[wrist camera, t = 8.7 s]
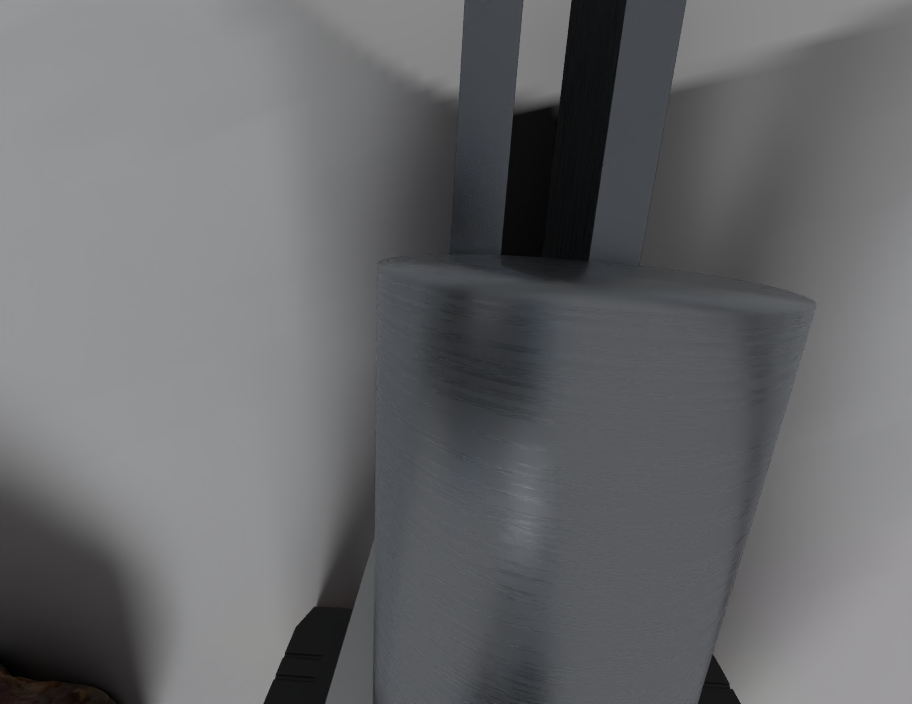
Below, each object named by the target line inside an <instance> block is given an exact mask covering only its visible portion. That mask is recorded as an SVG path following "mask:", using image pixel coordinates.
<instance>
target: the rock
mask: <svg viewBox="0 0 912 704" xmlns="http://www.w3.org/2000/svg"><path fill="white" fill-rule="evenodd" d="M0 704H116V703H115V702H114V701H113V700H111V699H110V698H109V697H108V695H107V694H106V693H105V692H103V691H101V690H99V689H96V688H94V687H91V686H87V685H83V684H75V683H64V682H59V681H46V682H43V681H35V680H32V679H28V678H24V677H12V676H10V674H9V672H8V671H7V670H6V669H5V668H4V667H3V666H2V665H1V664H0Z"/></svg>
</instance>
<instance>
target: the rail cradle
mask: <svg viewBox="0 0 912 704" xmlns="http://www.w3.org/2000/svg"><path fill="white" fill-rule="evenodd" d="M685 5H686V0H572V2H571V11H570V20H569V28H568V38H567V46H566V55H565V63H564V71H563V80H562V89H561V97H560V106H559V115H558V123H557V132H556V141H555V149H554V158H553V167H552V175H551V184H550V193H549V201H548V210H547V219H546V227H545V236H544V245H543V253H542V257H543V258H558V259H571V260H583V261H594V262H605V263H615V264H625V265H634V266H639V264H640V258H641V253H642V247H643V242H644V236H645V230H646V225H647V219H648V213H649V208H650V202H651V197H652V191H653V185H654V180H655V174H656V169H657V163H658V157H659V152H660V146H661V140H662V135H663V129H664V124H665V118H666V112H667V107H668V101H669V95H670V90H671V84H672V79H673V73H674V67H675V62H676V56H677V51H678V45H679V39H680V34H681V28H682V22H683V17H684V11H685ZM522 9H523V0H465V4H464V21H463V39H462V57H461V74H460V91H459V109H458V126H457V144H456V161H455V179H454V196H453V213H452V231H451V248H450V254H479V255H501V245H502V234H503V223H504V211H505V200H506V189H507V178H508V167H509V155H510V144H511V133H512V122H513V110H514V99H515V88H516V77H517V66H518V54H519V42H520V32H521V21H522Z"/></svg>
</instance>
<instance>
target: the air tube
mask: <svg viewBox="0 0 912 704" xmlns="http://www.w3.org/2000/svg"><path fill="white" fill-rule="evenodd" d="M815 309H816V303H815V302H814V301H813V300H811V299H809V298H807V297H805V296H802V295H799V294H796V293H793V292H789V291H786V290H782V289H778V288H774V287H770V286H765V285H760V284H756V283H751V282H745V281H740V280H735V279H729V278H723V277H717V276H710V275H704V274H697V273H690V272H683V271H676V270H668V269H660V268H652V267H643V266H634V265H625V264H615V263H605V262H594V261H583V260H571V259H558V258H543V257H527V256H508V255H479V254H428V255H410V256H400V257H393V258H388V259H385V260H382V261H380V262H379V263H378V285H377V372H376V460H375V547H374V635H373V704H698V701H699V698H700V694H701V691H702V687H703V684H704V681H705V677H706V674H707V671H708V667H709V664H710V661H711V657H712V654H713V651H714V647H715V644H716V641H717V637H718V634H719V630H720V627H721V624H722V620H723V617H724V614H725V610H726V607H727V604H728V600H729V597H730V594H731V590H732V587H733V584H734V580H735V577H736V574H737V570H738V567H739V563H740V560H741V557H742V553H743V550H744V547H745V543H746V540H747V537H748V533H749V530H750V527H751V523H752V520H753V517H754V513H755V510H756V507H757V503H758V500H759V496H760V493H761V490H762V486H763V483H764V480H765V476H766V473H767V470H768V466H769V463H770V460H771V456H772V453H773V450H774V446H775V443H776V440H777V436H778V433H779V429H780V426H781V423H782V419H783V416H784V413H785V409H786V406H787V403H788V399H789V396H790V393H791V389H792V386H793V383H794V379H795V376H796V372H797V369H798V366H799V362H800V359H801V356H802V352H803V349H804V346H805V342H806V339H807V336H808V332H809V329H810V326H811V322H812V319H813V316H814V312H815Z"/></svg>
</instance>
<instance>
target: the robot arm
mask: <svg viewBox="0 0 912 704" xmlns="http://www.w3.org/2000/svg"><path fill="white" fill-rule="evenodd" d="M374 547H375V537H374V541H373V544H372V548H371V551H370V554H369V558H368V561H367V564H366V568H365V571H364V575H363V578H362V581H361V585H360V588H359V591H358V595H357V598H356V601H355V605H354V608H353V609H341V608H327V607H314V608H313V609H312V610H311V611H310V612H309V613H308V614H307V615H306V617H305V618H304V619H303V620H302V621H301V622H300V623H299V624H298V625H297V626H296V628H295V630H294V633H293V635H292V638H291V640H290V642H289V645H288V647H287V649H286V652H285V656H284V658H283V659H282V661H281V663H280V666H279V668H278V671H277V673H276V677H275V680H273V682H272V685H271V687H270V689H269V692H268V694H267V696H266V699H265V701H264V704H373V635H374ZM698 704H741V703H740V702H739V700H738V698H737V696H736V694H735V693H734V691H733V689H730V686H729V682H728V680H727V678H726V677H725V675H724V673H723V671H722V669H721V668H720V666H719V664H718V662H717V660H716V659H715V657H714V656H713V655H712V657H711V661H710V664H709V667H708V671H707V674H706V677H705V681H704V684H703V687H702V691H701V694H700V698H699V701H698Z"/></svg>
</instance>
